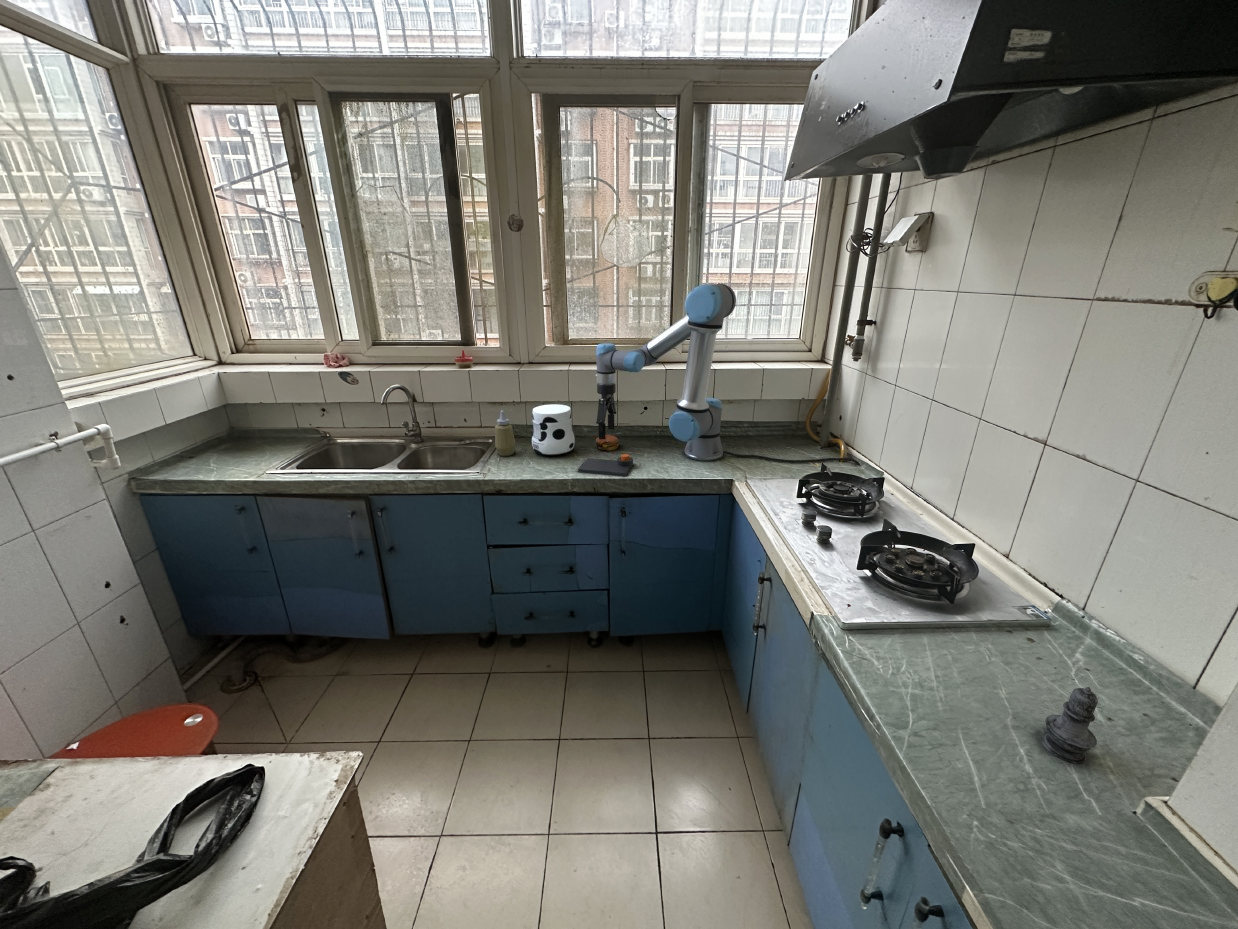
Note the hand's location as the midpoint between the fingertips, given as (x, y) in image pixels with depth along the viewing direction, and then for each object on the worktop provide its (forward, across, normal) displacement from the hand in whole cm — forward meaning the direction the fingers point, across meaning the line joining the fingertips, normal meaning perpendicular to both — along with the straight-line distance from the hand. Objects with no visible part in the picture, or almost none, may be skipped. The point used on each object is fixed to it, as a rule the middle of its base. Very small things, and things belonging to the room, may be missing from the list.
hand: (606, 434), depth 206 cm
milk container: (+6, +10, -20) cm, 23 cm away
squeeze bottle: (+6, +17, -38) cm, 42 cm away
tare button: (+3, +20, +13) cm, 24 cm away
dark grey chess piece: (+4, +119, +106) cm, 160 cm away
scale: (+6, +23, +6) cm, 25 cm away
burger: (+6, 0, 0) cm, 6 cm away
